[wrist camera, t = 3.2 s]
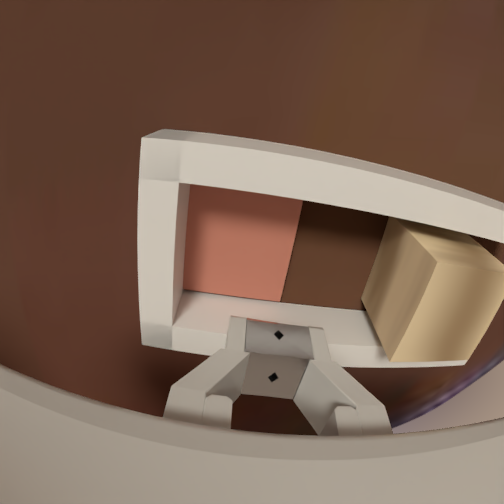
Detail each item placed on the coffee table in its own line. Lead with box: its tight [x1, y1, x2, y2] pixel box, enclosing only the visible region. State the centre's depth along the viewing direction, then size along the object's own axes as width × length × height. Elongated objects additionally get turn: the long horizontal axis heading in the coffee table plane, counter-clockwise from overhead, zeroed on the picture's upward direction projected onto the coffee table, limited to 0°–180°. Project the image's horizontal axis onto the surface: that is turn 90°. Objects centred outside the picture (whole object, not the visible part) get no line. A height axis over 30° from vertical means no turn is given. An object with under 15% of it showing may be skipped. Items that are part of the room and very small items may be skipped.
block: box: [361, 216, 504, 362], centre depth 14 cm, size 5×5×5 cm
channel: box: [138, 129, 504, 368], centre depth 14 cm, size 18×10×3 cm, turn 81°
